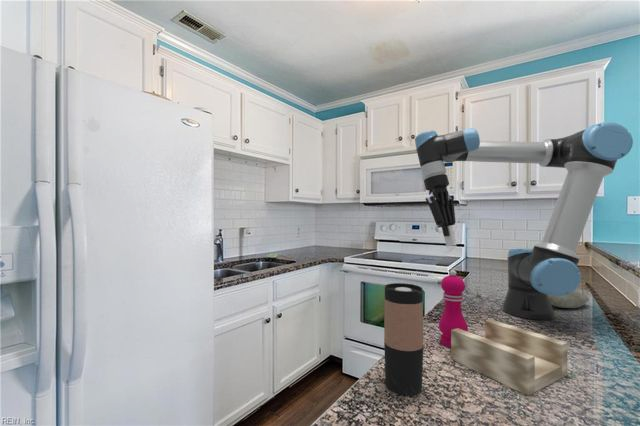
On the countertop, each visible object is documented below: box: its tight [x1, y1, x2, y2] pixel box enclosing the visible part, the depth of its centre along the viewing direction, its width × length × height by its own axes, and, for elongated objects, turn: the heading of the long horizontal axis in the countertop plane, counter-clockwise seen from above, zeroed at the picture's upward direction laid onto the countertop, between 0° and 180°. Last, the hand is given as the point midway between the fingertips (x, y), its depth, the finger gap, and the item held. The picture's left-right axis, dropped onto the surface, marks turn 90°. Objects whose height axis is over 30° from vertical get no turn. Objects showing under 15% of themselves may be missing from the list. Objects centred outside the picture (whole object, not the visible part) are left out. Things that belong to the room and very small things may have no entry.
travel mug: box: [383, 282, 424, 397], centre depth 61 cm, size 8×8×20 cm
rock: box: [548, 290, 590, 309], centre depth 117 cm, size 8×11×20 cm
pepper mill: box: [438, 269, 469, 349], centre depth 81 cm, size 7×7×20 cm
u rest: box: [450, 318, 569, 397], centre depth 69 cm, size 17×16×7 cm
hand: (451, 245), depth 98 cm, fingers closed
